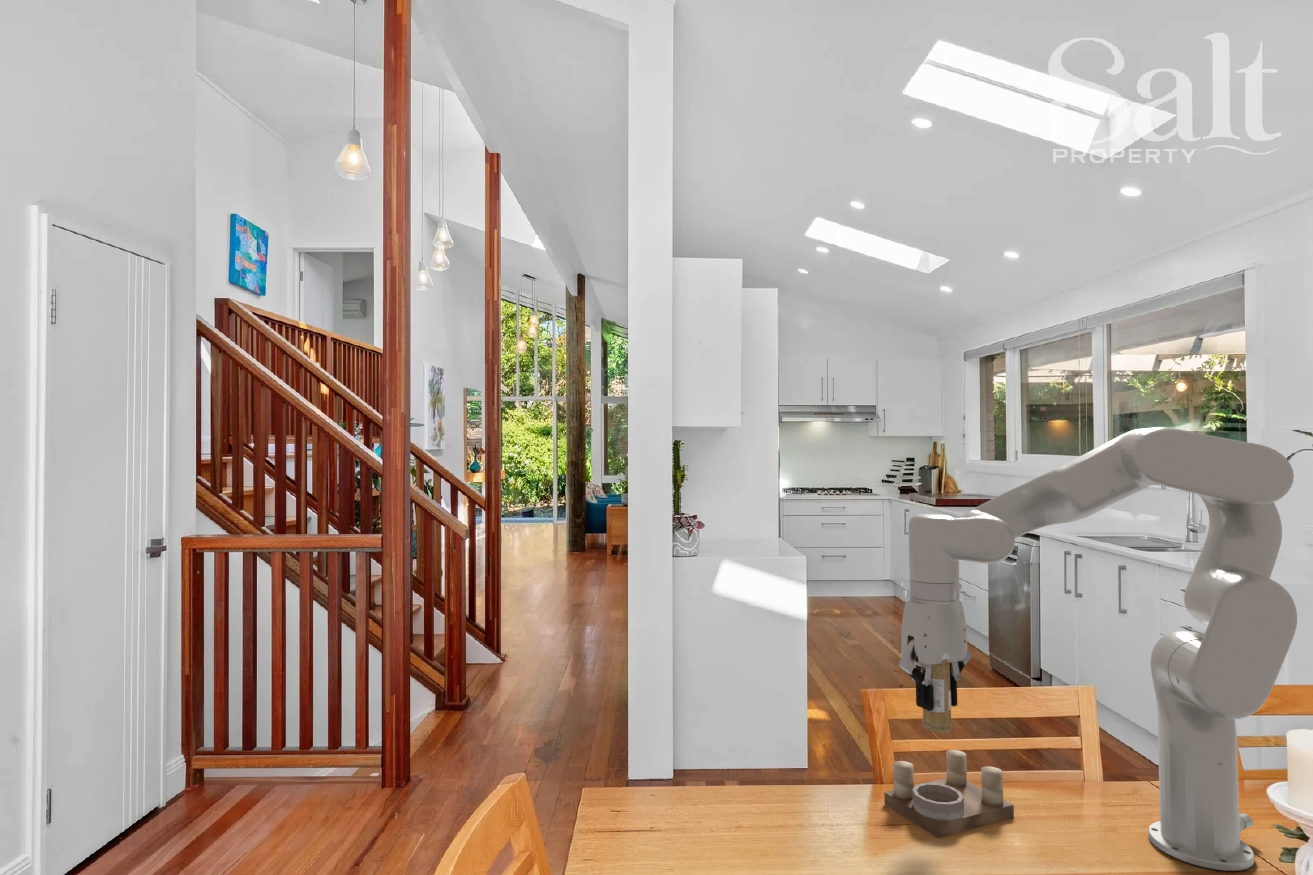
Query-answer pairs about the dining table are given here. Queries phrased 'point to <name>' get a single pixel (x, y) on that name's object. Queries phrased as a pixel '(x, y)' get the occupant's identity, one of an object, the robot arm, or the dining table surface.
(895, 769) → the bottle holder base
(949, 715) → the sprinkles bottle
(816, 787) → the dining table surface
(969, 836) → the dining table surface
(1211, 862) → the robot arm
